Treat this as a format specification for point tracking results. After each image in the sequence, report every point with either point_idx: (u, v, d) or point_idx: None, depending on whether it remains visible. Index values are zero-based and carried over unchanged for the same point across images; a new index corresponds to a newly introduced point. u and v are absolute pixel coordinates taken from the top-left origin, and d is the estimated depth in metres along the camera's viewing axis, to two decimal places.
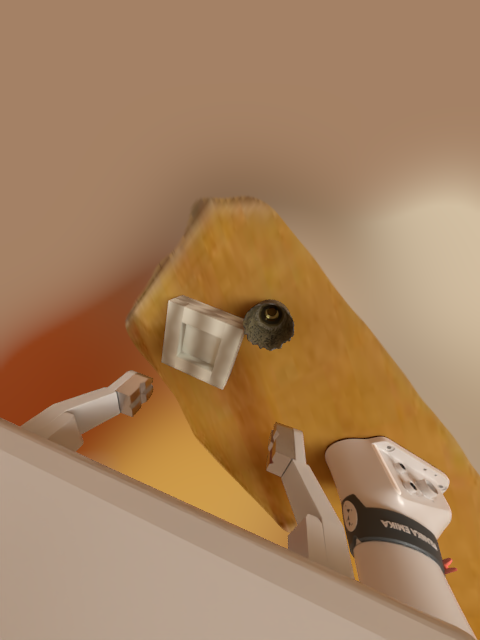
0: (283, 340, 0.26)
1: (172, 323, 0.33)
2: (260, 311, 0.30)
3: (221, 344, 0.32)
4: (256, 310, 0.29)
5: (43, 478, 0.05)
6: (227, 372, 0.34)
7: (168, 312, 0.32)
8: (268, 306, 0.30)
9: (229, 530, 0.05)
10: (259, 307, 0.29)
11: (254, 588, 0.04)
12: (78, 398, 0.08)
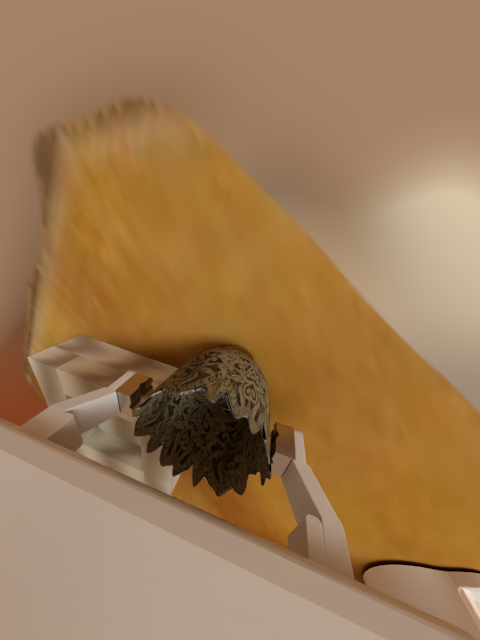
0: (251, 462, 0.10)
1: (52, 395, 0.17)
2: None
3: None
4: None
5: (43, 478, 0.05)
6: (168, 476, 0.18)
7: (37, 377, 0.17)
8: None
9: (229, 530, 0.05)
10: None
11: (254, 588, 0.04)
12: (77, 398, 0.08)
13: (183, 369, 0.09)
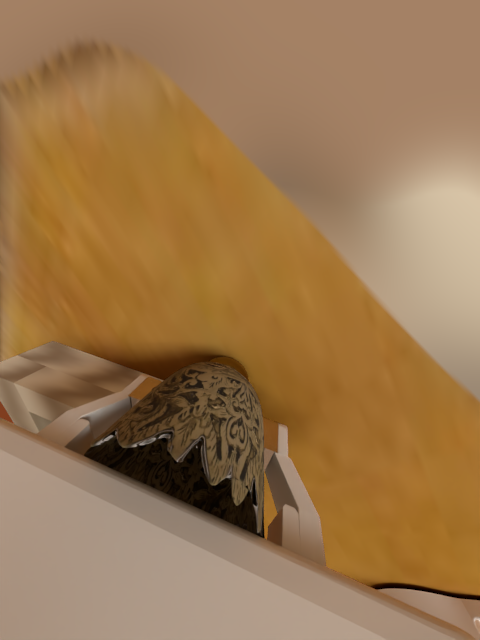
0: (241, 513, 0.08)
1: (16, 412, 0.15)
2: None
3: None
4: None
5: (43, 478, 0.05)
6: None
7: None
8: None
9: (229, 530, 0.05)
10: None
11: (254, 588, 0.04)
12: (92, 404, 0.08)
13: (151, 397, 0.07)
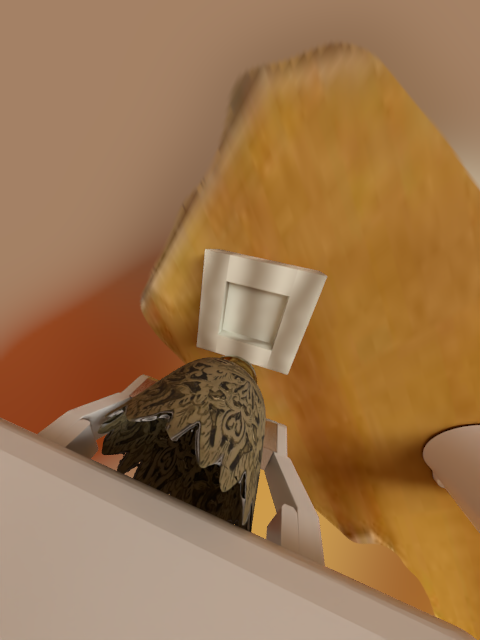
0: (235, 509, 0.08)
1: (211, 286, 0.23)
2: None
3: (288, 306, 0.22)
4: None
5: (43, 478, 0.05)
6: (296, 348, 0.24)
7: (205, 269, 0.22)
8: None
9: (229, 530, 0.05)
10: None
11: (254, 588, 0.04)
12: (92, 404, 0.08)
13: (160, 383, 0.08)
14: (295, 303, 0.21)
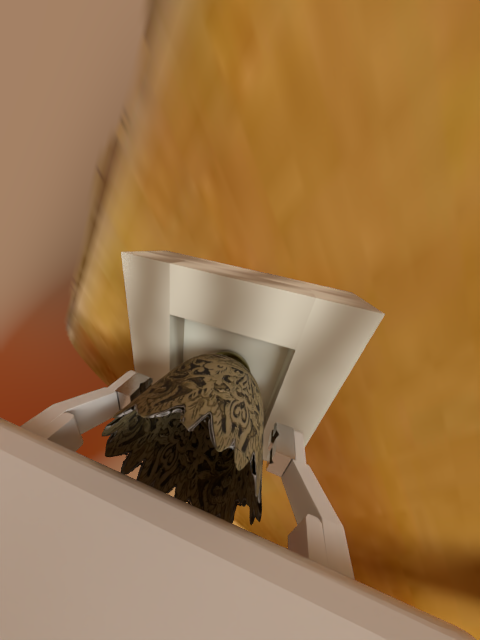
0: (241, 490, 0.08)
1: (146, 321, 0.12)
2: None
3: (293, 366, 0.11)
4: None
5: (43, 478, 0.05)
6: (307, 435, 0.13)
7: (129, 291, 0.11)
8: None
9: (229, 530, 0.05)
10: None
11: (254, 588, 0.04)
12: (77, 398, 0.08)
13: (163, 381, 0.08)
14: (308, 363, 0.10)
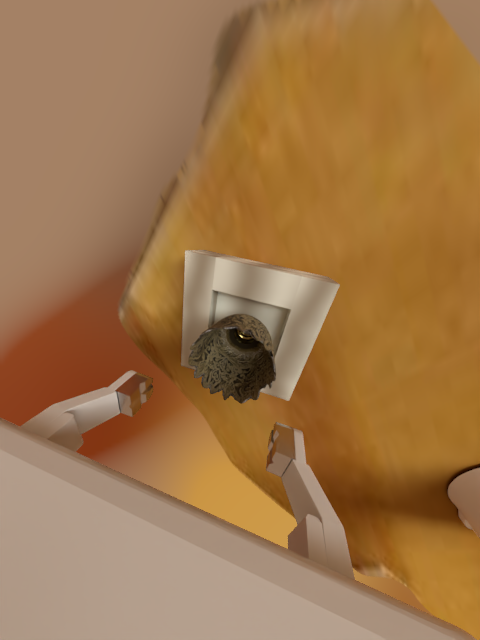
0: (262, 383, 0.15)
1: (195, 295, 0.19)
2: (227, 330, 0.19)
3: (290, 321, 0.17)
4: (220, 331, 0.19)
5: (43, 478, 0.05)
6: (299, 371, 0.19)
7: (186, 275, 0.18)
8: None
9: (229, 530, 0.05)
10: None
11: (254, 588, 0.04)
12: (77, 398, 0.08)
13: (219, 322, 0.15)
14: (298, 318, 0.17)
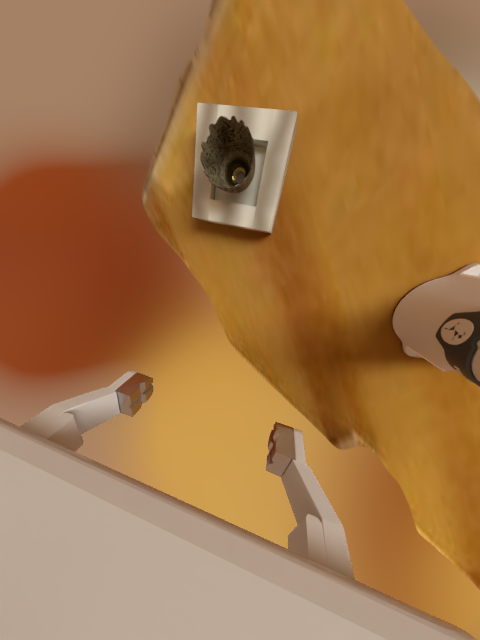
0: None
1: None
2: (225, 171, 0.28)
3: (267, 151, 0.26)
4: (220, 167, 0.27)
5: (43, 478, 0.05)
6: (276, 198, 0.28)
7: (198, 125, 0.26)
8: (233, 162, 0.27)
9: (229, 530, 0.05)
10: (223, 164, 0.27)
11: (254, 588, 0.04)
12: (77, 398, 0.08)
13: (220, 132, 0.23)
14: (273, 147, 0.25)
